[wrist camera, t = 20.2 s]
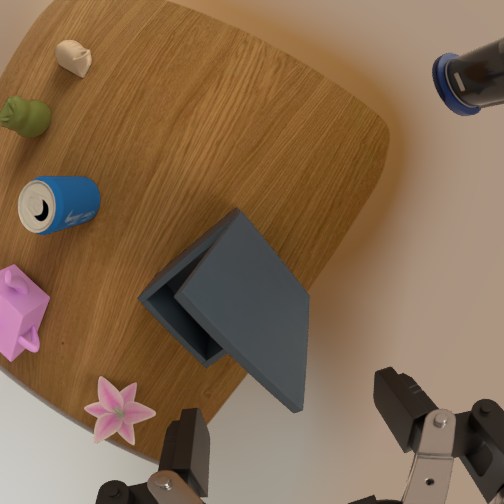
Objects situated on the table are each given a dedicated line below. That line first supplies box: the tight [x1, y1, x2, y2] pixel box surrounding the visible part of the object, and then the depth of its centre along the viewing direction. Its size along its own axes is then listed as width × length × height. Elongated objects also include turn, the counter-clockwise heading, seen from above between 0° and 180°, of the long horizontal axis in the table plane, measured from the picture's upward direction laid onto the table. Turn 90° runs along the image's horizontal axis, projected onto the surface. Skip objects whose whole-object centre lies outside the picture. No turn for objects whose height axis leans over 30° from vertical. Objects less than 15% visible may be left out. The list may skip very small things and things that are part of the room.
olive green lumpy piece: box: [0, 95, 51, 138], centre depth 29 cm, size 6×5×10 cm
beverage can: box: [18, 176, 100, 235], centre depth 31 cm, size 6×6×12 cm
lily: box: [84, 376, 156, 445], centre depth 41 cm, size 12×12×10 cm
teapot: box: [0, 264, 50, 362], centre depth 34 cm, size 15×13×11 cm
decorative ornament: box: [55, 40, 92, 78], centre depth 30 cm, size 4×8×5 cm, turn 52°
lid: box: [174, 211, 309, 413], centre depth 24 cm, size 15×12×1 cm
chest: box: [138, 207, 241, 368], centre depth 36 cm, size 15×12×9 cm
